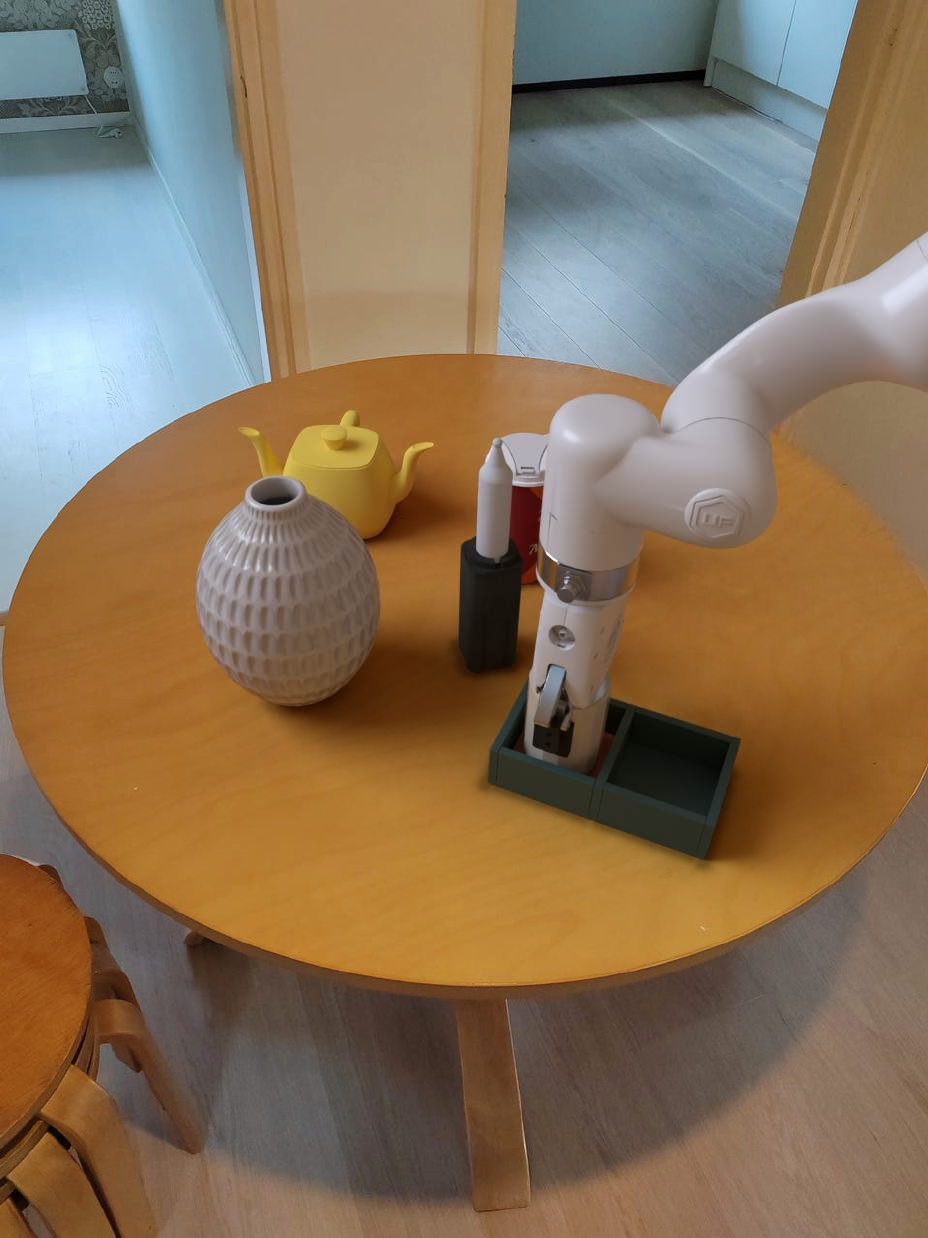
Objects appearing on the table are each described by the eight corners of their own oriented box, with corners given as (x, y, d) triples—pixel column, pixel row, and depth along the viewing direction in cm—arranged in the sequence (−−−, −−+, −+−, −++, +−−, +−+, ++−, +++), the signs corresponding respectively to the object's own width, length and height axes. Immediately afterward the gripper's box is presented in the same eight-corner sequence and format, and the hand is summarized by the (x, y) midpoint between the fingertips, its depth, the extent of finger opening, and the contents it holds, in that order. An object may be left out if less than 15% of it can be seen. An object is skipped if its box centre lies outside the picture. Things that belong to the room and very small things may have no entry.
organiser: (730, 772, 88) (741, 738, 85) (704, 860, 81) (715, 827, 78) (528, 705, 94) (531, 671, 91) (487, 783, 87) (489, 749, 84)
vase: (294, 773, 87) (264, 582, 72) (180, 684, 95) (132, 494, 80) (418, 675, 96) (415, 487, 81) (305, 601, 104) (283, 416, 89)
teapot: (444, 475, 121) (444, 397, 114) (425, 553, 110) (424, 472, 103) (270, 460, 123) (259, 382, 116) (233, 536, 112) (219, 455, 104)
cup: (608, 735, 89) (621, 665, 83) (585, 790, 85) (597, 720, 78) (538, 711, 91) (545, 641, 85) (511, 764, 86) (517, 694, 80)
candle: (469, 675, 96) (476, 459, 79) (455, 639, 100) (460, 426, 83) (518, 665, 97) (536, 450, 81) (503, 631, 101) (517, 418, 84)
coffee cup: (557, 592, 106) (570, 475, 96) (480, 590, 106) (485, 473, 96) (553, 543, 112) (565, 429, 102) (481, 541, 112) (485, 427, 102)
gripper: (600, 648, 66) (574, 809, 78) (667, 508, 78) (636, 666, 90) (497, 616, 68) (487, 778, 80) (577, 484, 80) (558, 642, 92)
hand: (566, 718), depth 85 cm, fingers closed on cup, 6 cm apart
